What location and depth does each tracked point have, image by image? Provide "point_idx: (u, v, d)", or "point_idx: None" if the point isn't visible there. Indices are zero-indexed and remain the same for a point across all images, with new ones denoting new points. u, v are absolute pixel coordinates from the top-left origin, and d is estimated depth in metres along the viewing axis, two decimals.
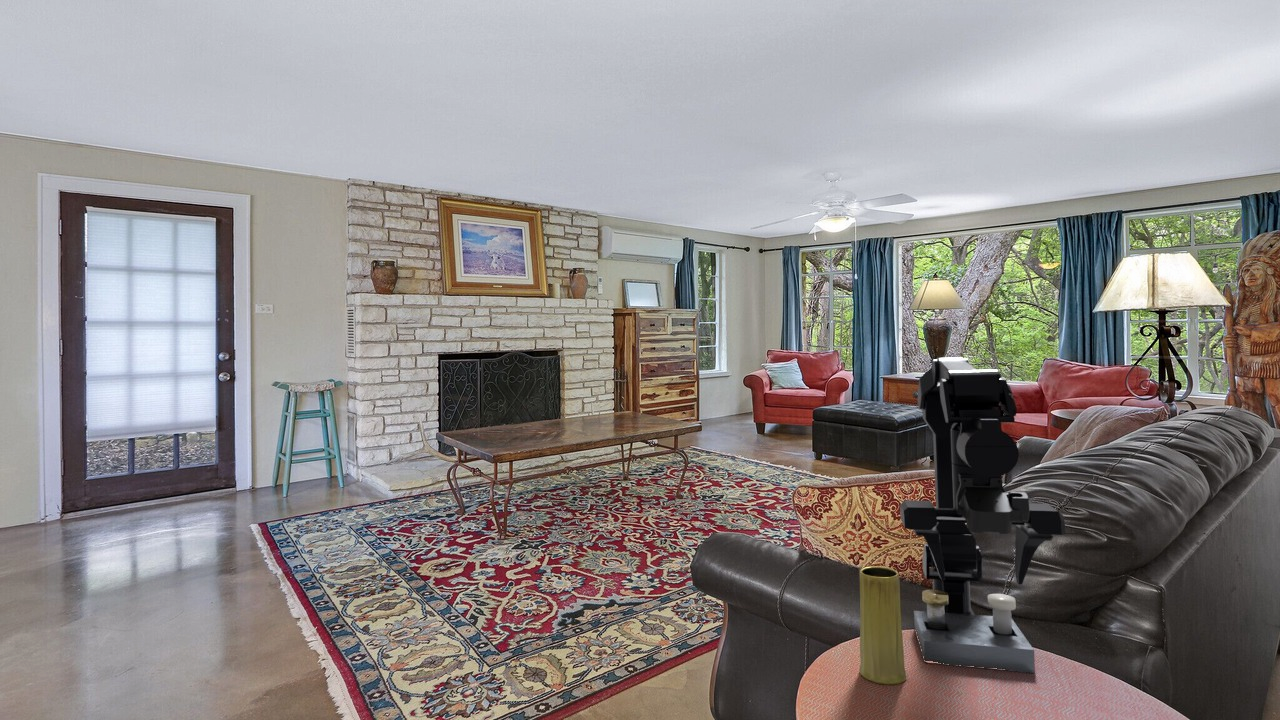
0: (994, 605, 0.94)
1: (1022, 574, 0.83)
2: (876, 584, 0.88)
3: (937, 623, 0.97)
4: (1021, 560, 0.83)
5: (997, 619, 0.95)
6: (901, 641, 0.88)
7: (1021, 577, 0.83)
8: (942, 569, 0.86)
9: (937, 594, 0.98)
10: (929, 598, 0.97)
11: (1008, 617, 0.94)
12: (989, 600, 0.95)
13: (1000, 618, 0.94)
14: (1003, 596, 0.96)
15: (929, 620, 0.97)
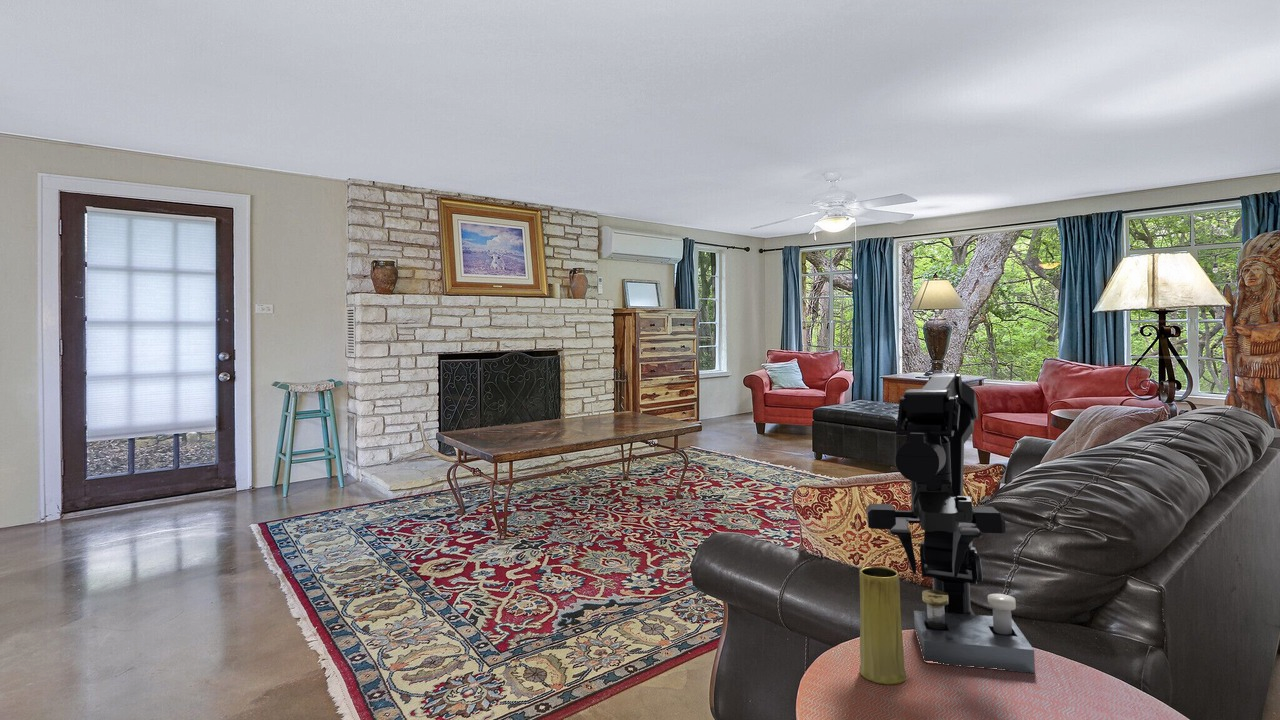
0: (994, 605, 0.94)
1: (956, 567, 0.96)
2: (876, 584, 0.88)
3: (937, 623, 0.97)
4: (955, 555, 0.96)
5: (997, 619, 0.95)
6: (901, 641, 0.88)
7: (956, 570, 0.96)
8: (914, 564, 0.98)
9: (937, 594, 0.98)
10: (929, 598, 0.97)
11: (1008, 617, 0.94)
12: (989, 600, 0.95)
13: (1000, 618, 0.94)
14: (1003, 596, 0.96)
15: (929, 620, 0.97)
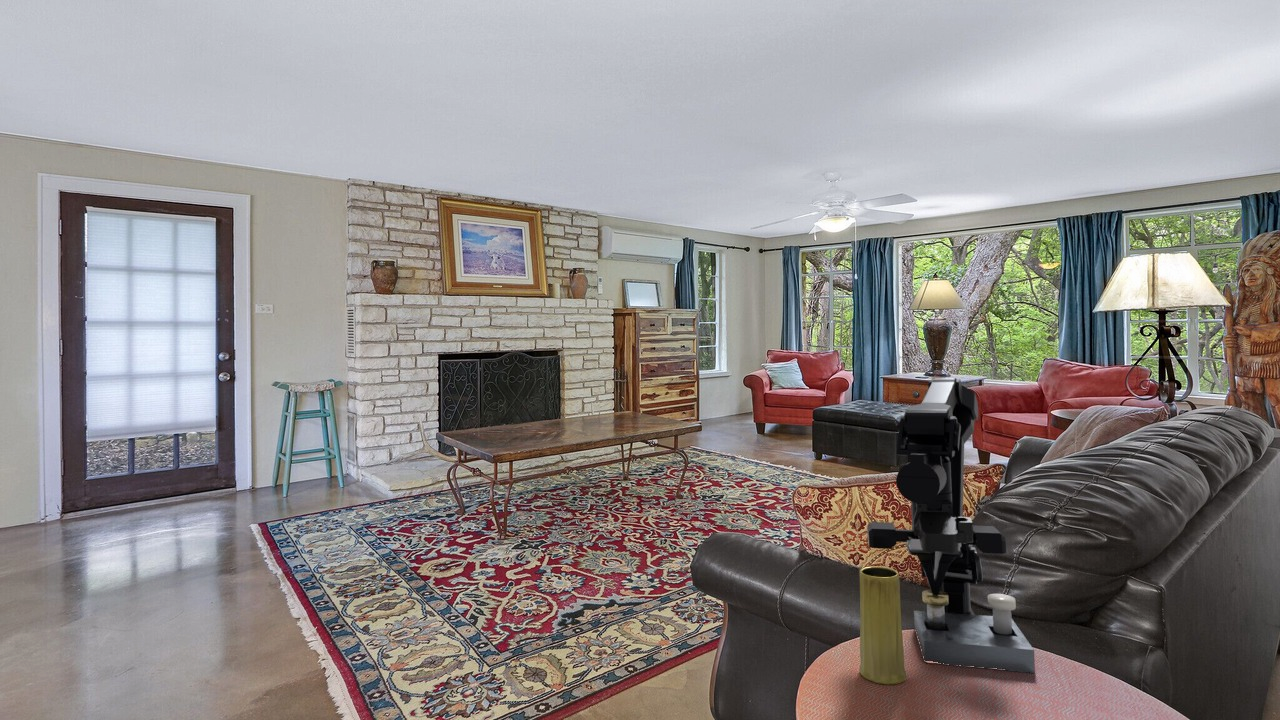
0: (994, 605, 0.94)
1: (938, 586, 0.97)
2: (876, 584, 0.88)
3: (937, 623, 0.97)
4: (937, 574, 0.97)
5: (997, 619, 0.95)
6: (901, 641, 0.88)
7: (937, 588, 0.97)
8: (933, 585, 0.97)
9: None
10: (929, 598, 0.97)
11: (1008, 617, 0.94)
12: (989, 600, 0.95)
13: (1000, 618, 0.94)
14: (1003, 596, 0.96)
15: (929, 620, 0.97)
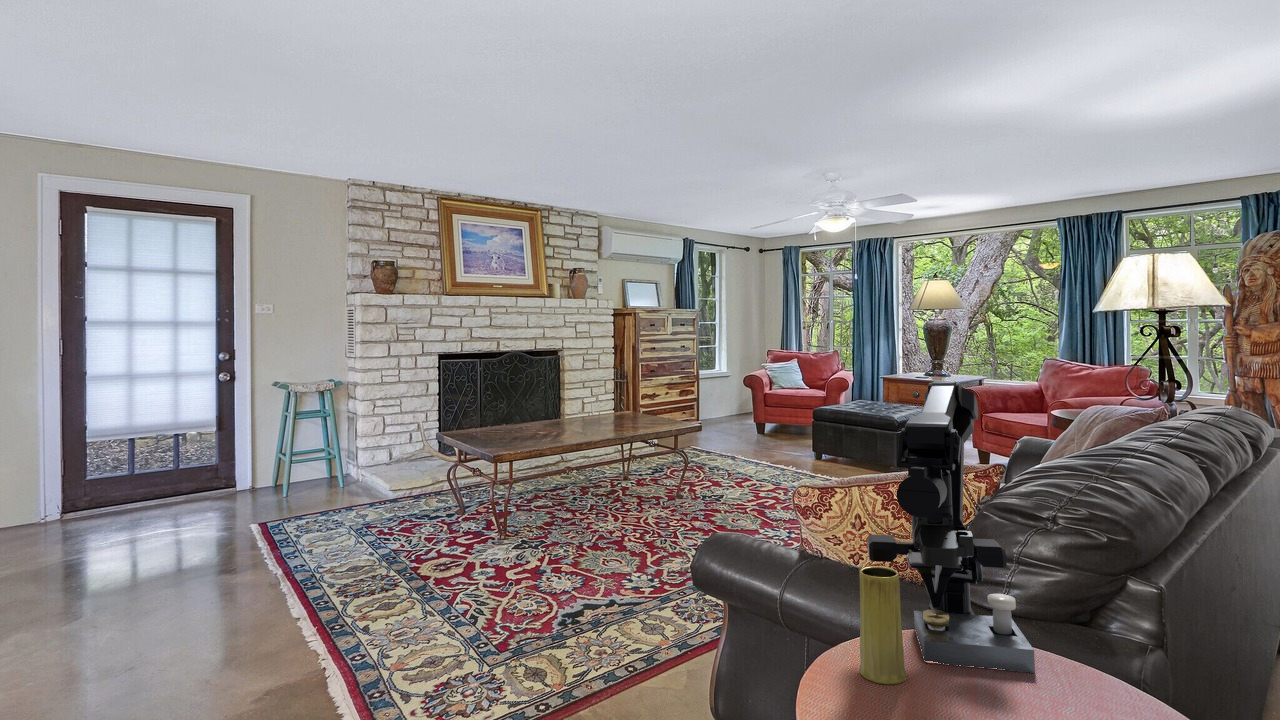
0: (994, 605, 0.94)
1: (938, 599, 0.97)
2: (876, 584, 0.88)
3: None
4: (937, 587, 0.97)
5: (997, 619, 0.95)
6: (901, 641, 0.88)
7: (938, 602, 0.97)
8: (934, 598, 0.97)
9: (937, 614, 0.97)
10: (930, 619, 0.97)
11: (1008, 617, 0.94)
12: (989, 600, 0.95)
13: (1000, 618, 0.94)
14: (1003, 596, 0.96)
15: None
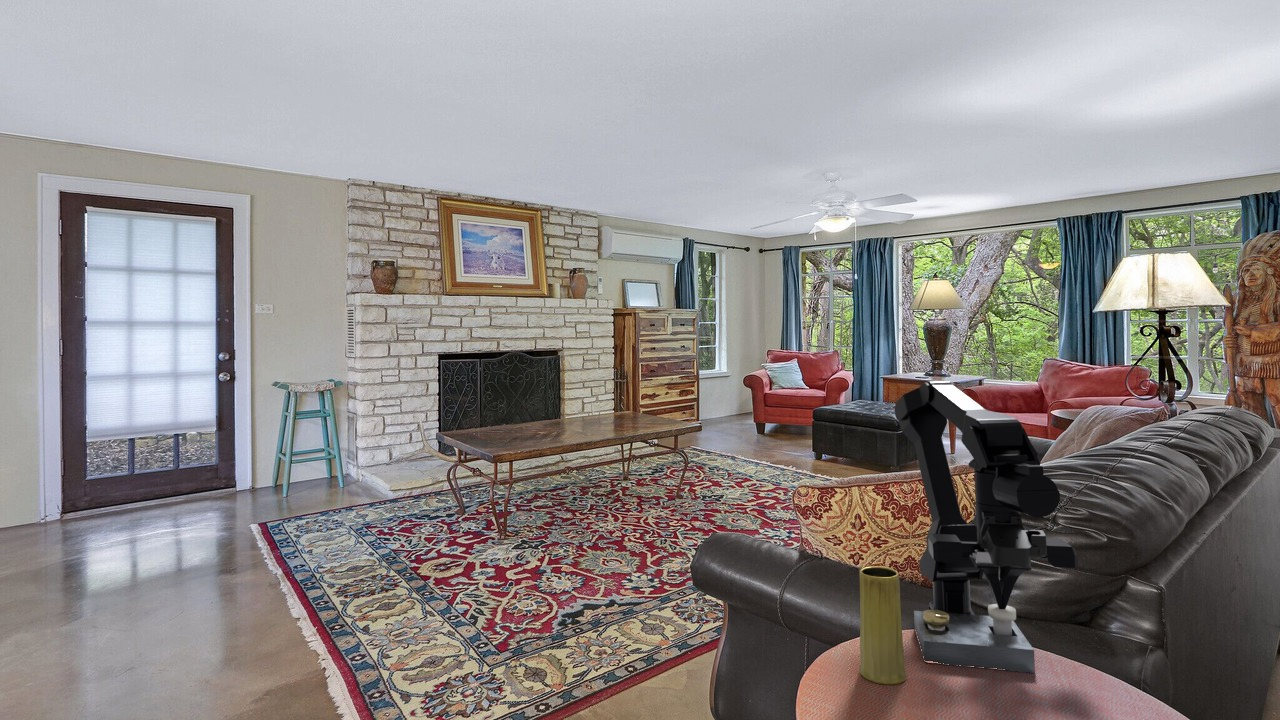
0: (994, 615, 0.94)
1: (1005, 600, 0.94)
2: (876, 584, 0.88)
3: None
4: (1004, 588, 0.94)
5: (997, 630, 0.95)
6: (901, 641, 0.88)
7: (1004, 603, 0.95)
8: (1000, 599, 0.95)
9: (937, 614, 0.97)
10: (930, 619, 0.97)
11: (1008, 628, 0.94)
12: (989, 611, 0.95)
13: (1000, 629, 0.94)
14: None
15: None
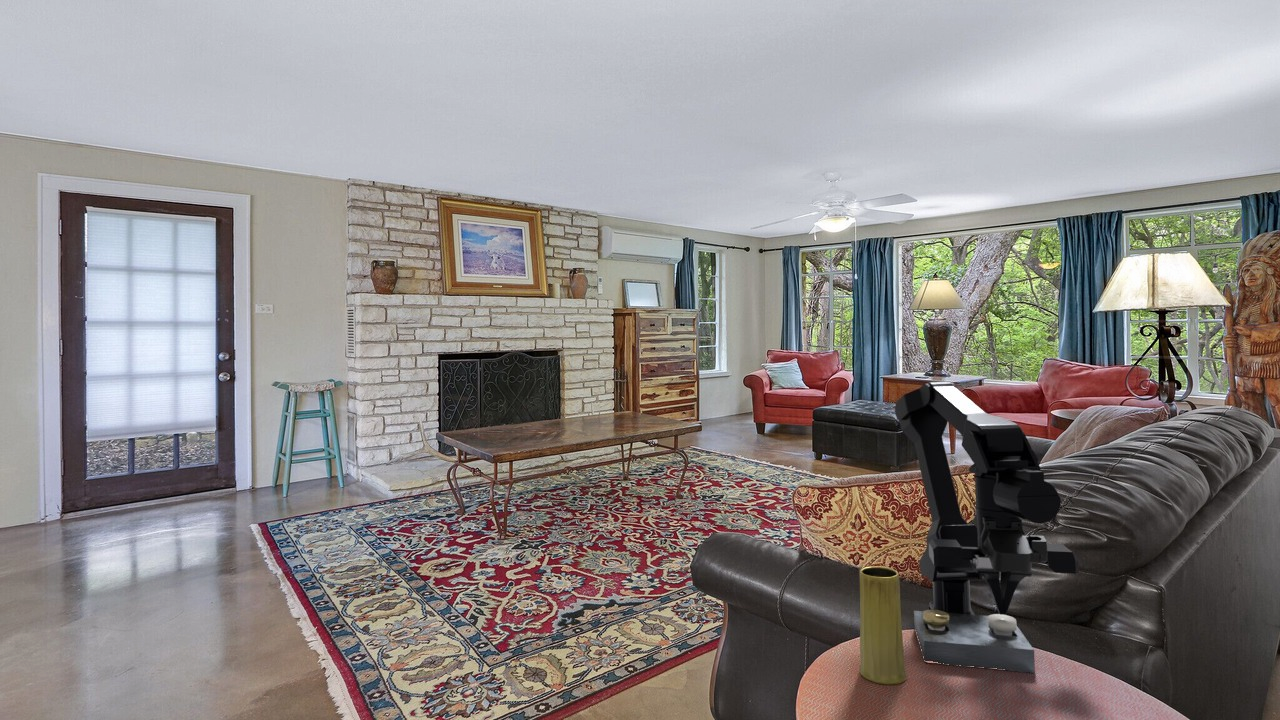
0: (995, 626, 0.94)
1: (1006, 606, 0.94)
2: (876, 584, 0.88)
3: None
4: (1005, 593, 0.94)
5: None
6: (901, 641, 0.88)
7: (1005, 608, 0.94)
8: (1001, 604, 0.94)
9: (937, 614, 0.97)
10: (930, 619, 0.97)
11: None
12: (990, 621, 0.95)
13: None
14: (1004, 617, 0.96)
15: None
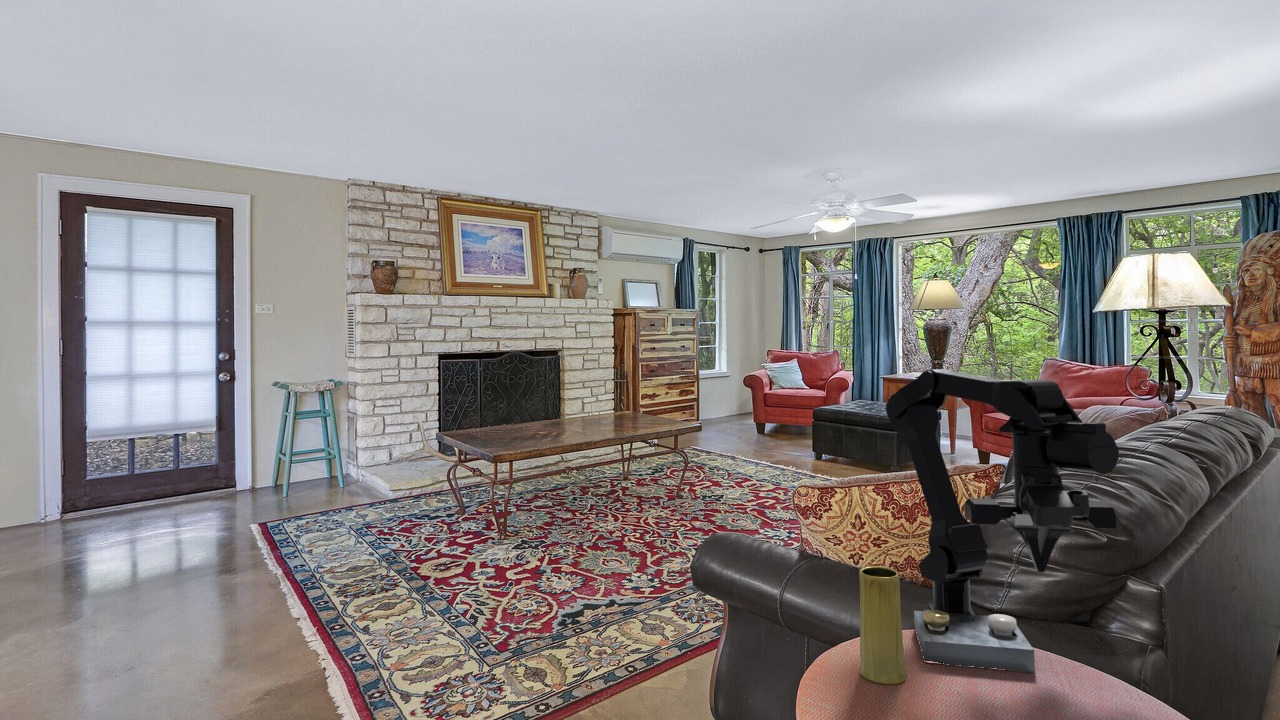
0: (995, 626, 0.94)
1: (1044, 563, 0.94)
2: (876, 584, 0.88)
3: None
4: (1043, 551, 0.94)
5: None
6: (901, 641, 0.88)
7: (1043, 565, 0.94)
8: (1039, 562, 0.94)
9: (937, 614, 0.97)
10: (930, 619, 0.97)
11: None
12: (990, 621, 0.95)
13: None
14: (1004, 617, 0.96)
15: None
